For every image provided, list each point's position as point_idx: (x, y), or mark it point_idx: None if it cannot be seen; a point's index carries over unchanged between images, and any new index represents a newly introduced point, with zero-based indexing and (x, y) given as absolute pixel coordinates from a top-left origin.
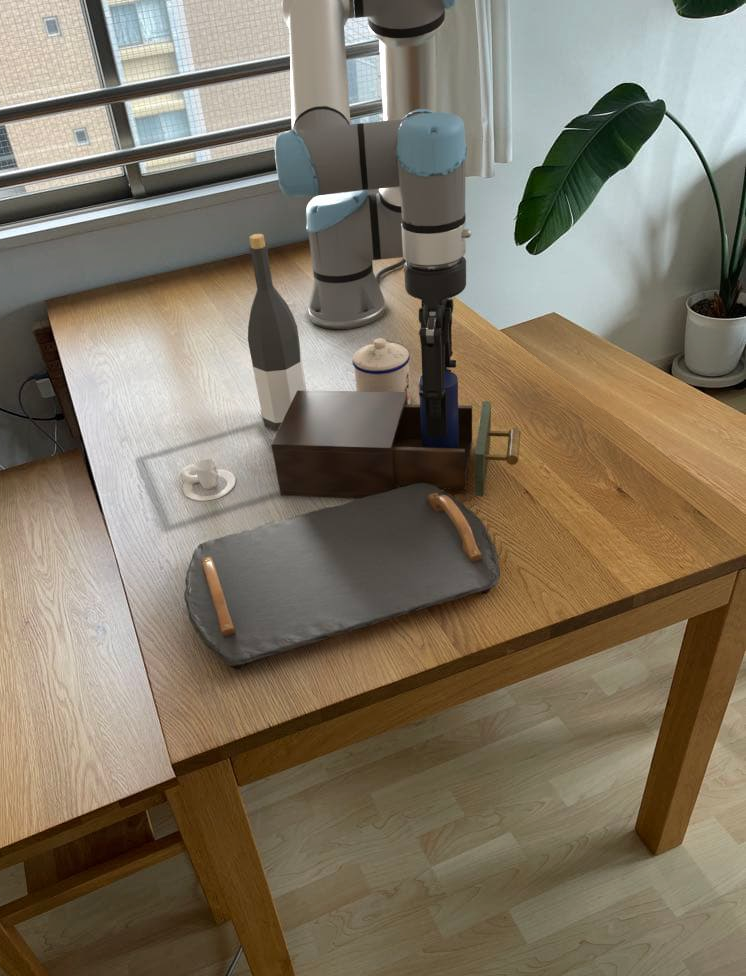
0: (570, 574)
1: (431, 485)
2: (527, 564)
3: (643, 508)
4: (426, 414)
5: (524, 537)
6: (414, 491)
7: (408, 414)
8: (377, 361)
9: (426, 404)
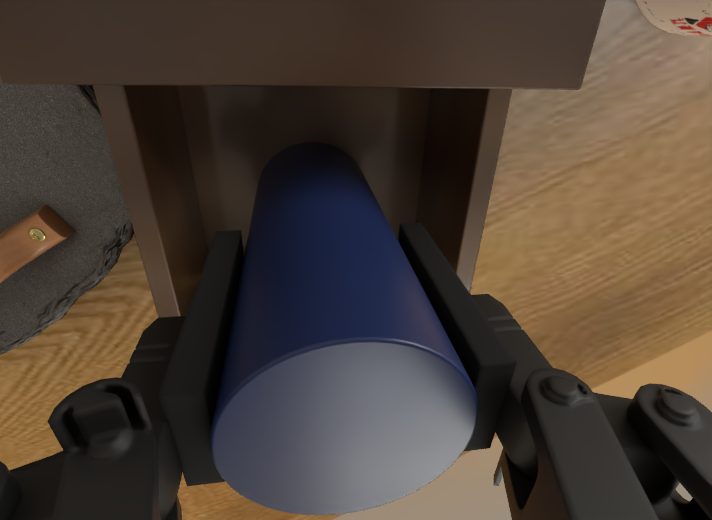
0: (16, 447)
1: None
2: (6, 392)
3: (243, 496)
4: (193, 296)
5: (95, 377)
6: (82, 152)
7: (471, 92)
8: None
9: (182, 338)
